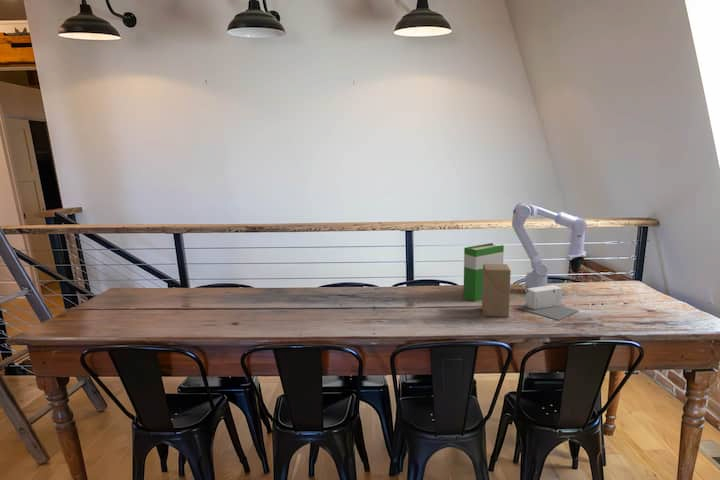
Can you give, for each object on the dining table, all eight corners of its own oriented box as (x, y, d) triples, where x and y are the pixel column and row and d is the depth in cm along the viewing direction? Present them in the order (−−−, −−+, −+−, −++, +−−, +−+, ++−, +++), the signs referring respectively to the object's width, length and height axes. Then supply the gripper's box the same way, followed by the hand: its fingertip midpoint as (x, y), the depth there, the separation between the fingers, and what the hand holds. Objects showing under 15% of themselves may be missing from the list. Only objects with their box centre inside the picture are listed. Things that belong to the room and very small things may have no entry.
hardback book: (490, 290, 212) (491, 243, 208) (502, 294, 206) (503, 245, 202) (463, 297, 204) (464, 247, 199) (474, 301, 197) (476, 250, 193)
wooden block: (509, 317, 177) (510, 270, 174) (483, 316, 179) (485, 269, 176) (505, 308, 187) (507, 264, 183) (481, 308, 189) (482, 263, 185)
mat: (518, 309, 187) (518, 308, 186) (539, 300, 196) (539, 300, 196) (558, 320, 172) (558, 319, 172) (578, 311, 182) (579, 310, 182)
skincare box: (562, 305, 188) (534, 311, 183) (551, 301, 194) (524, 306, 189) (563, 286, 186) (535, 292, 182) (552, 283, 192) (525, 288, 187)
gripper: (577, 247, 192) (575, 277, 195) (593, 243, 201) (591, 271, 203) (562, 245, 198) (560, 274, 200) (578, 241, 206) (576, 268, 209)
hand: (575, 272), depth 202 cm, fingers closed
